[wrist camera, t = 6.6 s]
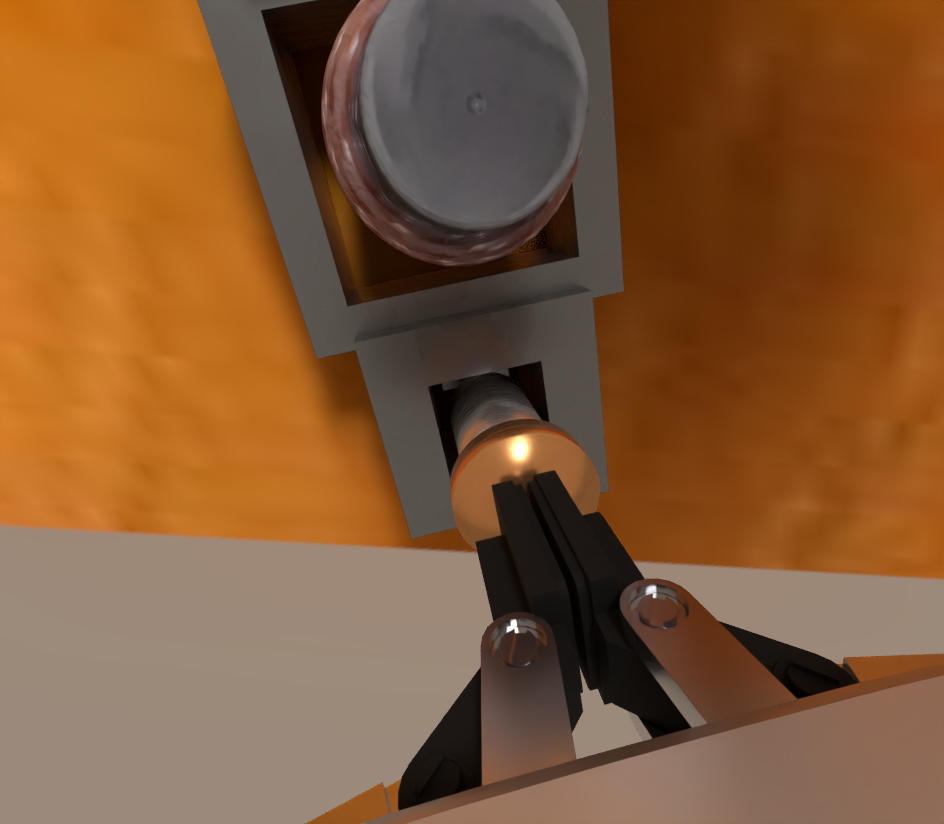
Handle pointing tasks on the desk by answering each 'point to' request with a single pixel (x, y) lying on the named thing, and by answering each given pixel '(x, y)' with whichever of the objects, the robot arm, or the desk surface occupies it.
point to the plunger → (508, 453)
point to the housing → (439, 292)
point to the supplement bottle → (455, 122)
